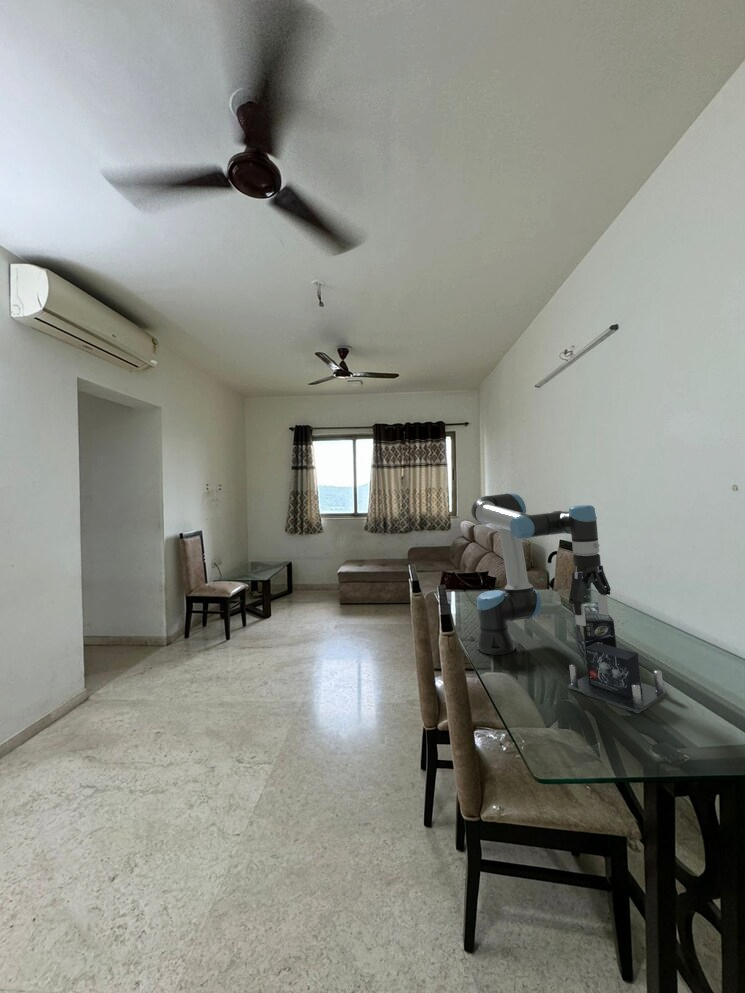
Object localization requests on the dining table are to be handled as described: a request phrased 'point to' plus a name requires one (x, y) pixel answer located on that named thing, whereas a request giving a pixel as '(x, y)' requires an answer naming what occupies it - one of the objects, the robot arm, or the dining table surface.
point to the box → (593, 629)
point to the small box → (613, 669)
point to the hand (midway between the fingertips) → (592, 619)
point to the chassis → (635, 704)
